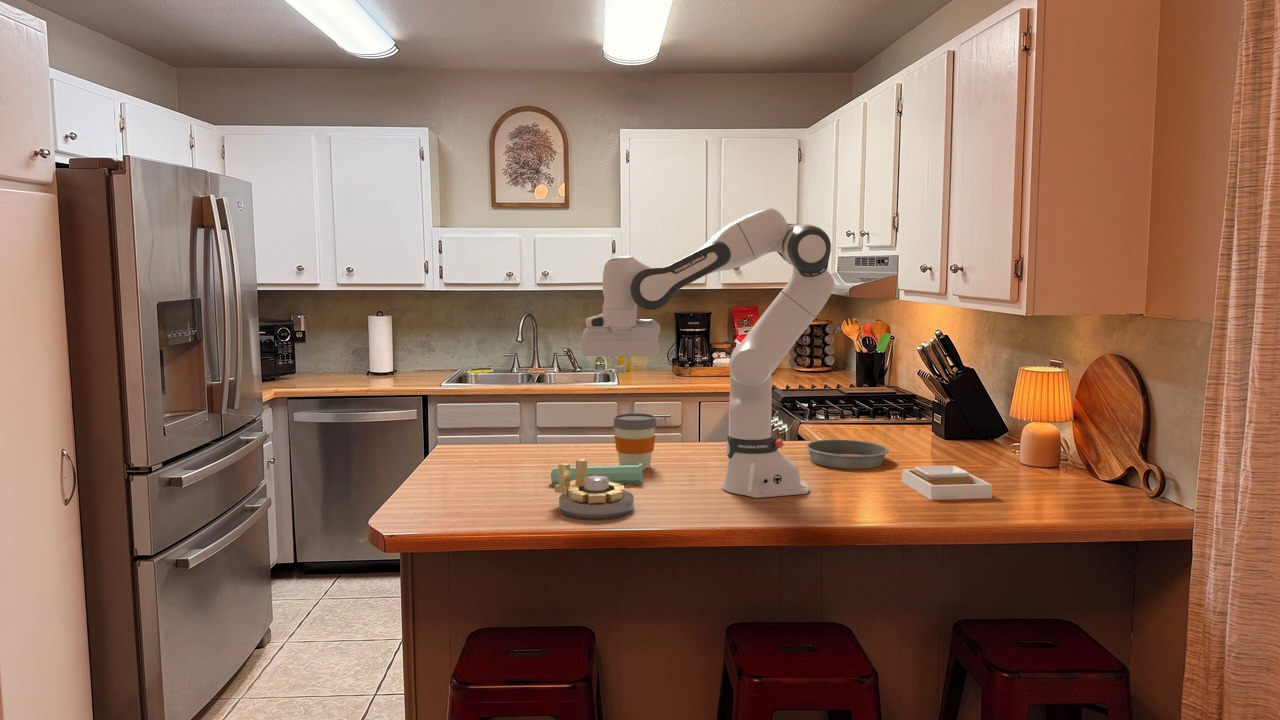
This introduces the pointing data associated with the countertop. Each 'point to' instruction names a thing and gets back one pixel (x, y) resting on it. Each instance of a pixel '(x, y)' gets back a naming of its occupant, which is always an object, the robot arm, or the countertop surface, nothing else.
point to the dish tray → (948, 488)
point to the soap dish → (943, 475)
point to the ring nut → (577, 486)
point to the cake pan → (831, 449)
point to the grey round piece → (596, 509)
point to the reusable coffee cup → (635, 438)
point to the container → (607, 473)
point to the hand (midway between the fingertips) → (620, 372)
